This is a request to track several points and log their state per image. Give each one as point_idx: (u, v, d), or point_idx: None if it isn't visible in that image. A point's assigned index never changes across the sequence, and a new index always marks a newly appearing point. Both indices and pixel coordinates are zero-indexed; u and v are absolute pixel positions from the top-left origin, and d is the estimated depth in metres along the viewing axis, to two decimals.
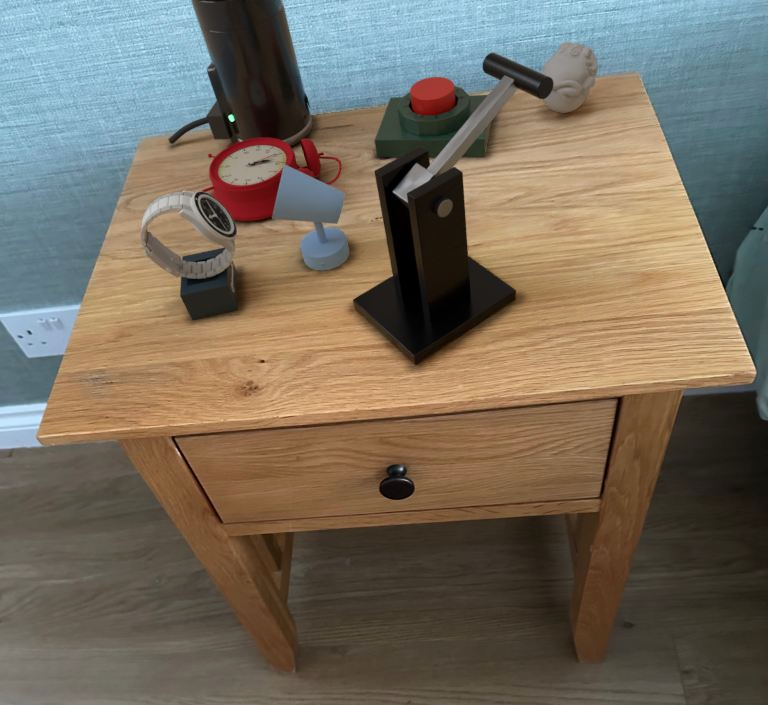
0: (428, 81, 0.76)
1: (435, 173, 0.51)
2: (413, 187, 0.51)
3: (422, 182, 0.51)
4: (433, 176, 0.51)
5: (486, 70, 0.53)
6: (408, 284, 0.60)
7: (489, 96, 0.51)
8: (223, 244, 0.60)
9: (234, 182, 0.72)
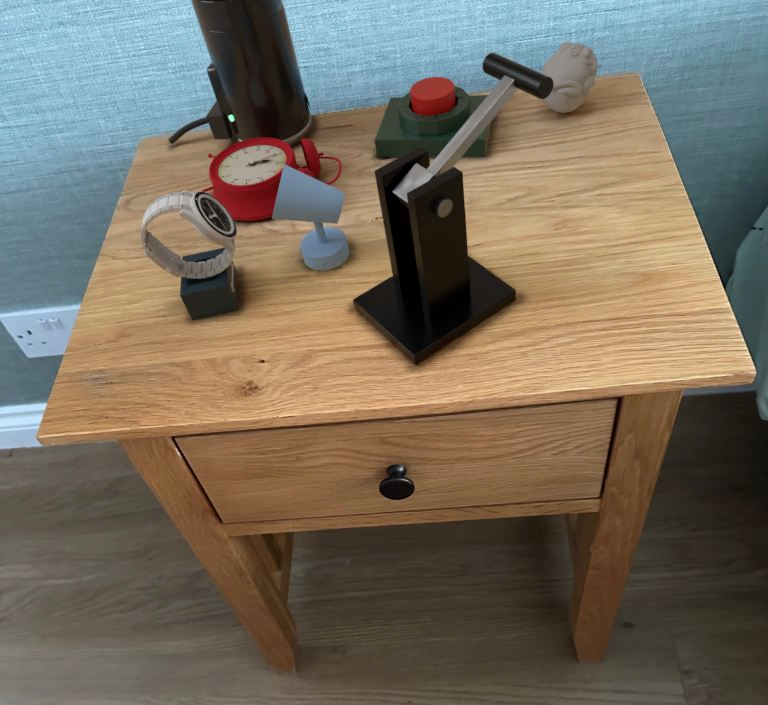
0: (428, 81, 0.76)
1: (435, 173, 0.51)
2: (413, 187, 0.51)
3: (422, 182, 0.51)
4: (433, 176, 0.51)
5: (486, 70, 0.53)
6: (408, 284, 0.60)
7: (489, 96, 0.51)
8: (223, 244, 0.60)
9: (234, 182, 0.72)
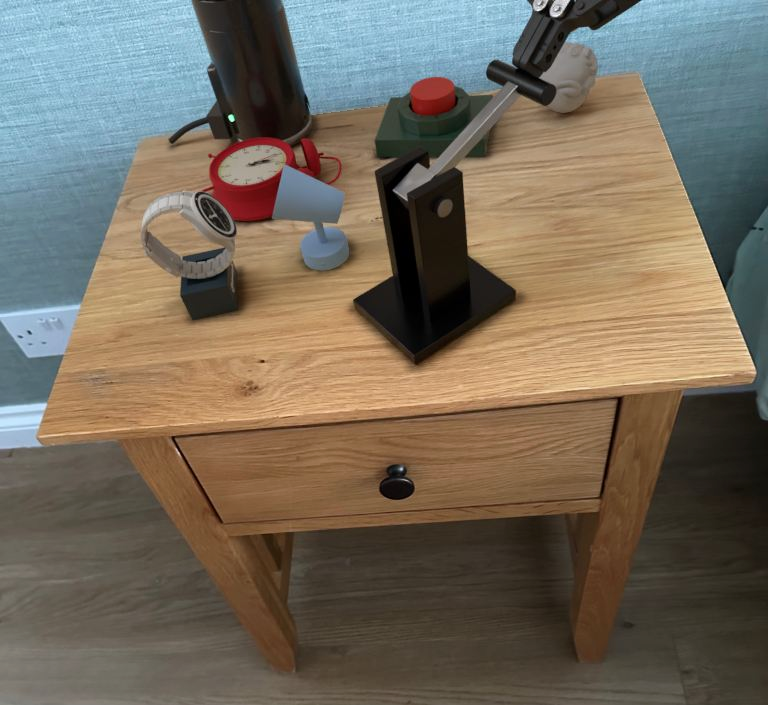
0: (428, 81, 0.76)
1: (436, 174, 0.51)
2: (414, 186, 0.51)
3: (423, 181, 0.51)
4: (434, 176, 0.51)
5: (490, 76, 0.53)
6: (408, 284, 0.60)
7: (492, 101, 0.52)
8: (223, 244, 0.60)
9: (234, 182, 0.72)
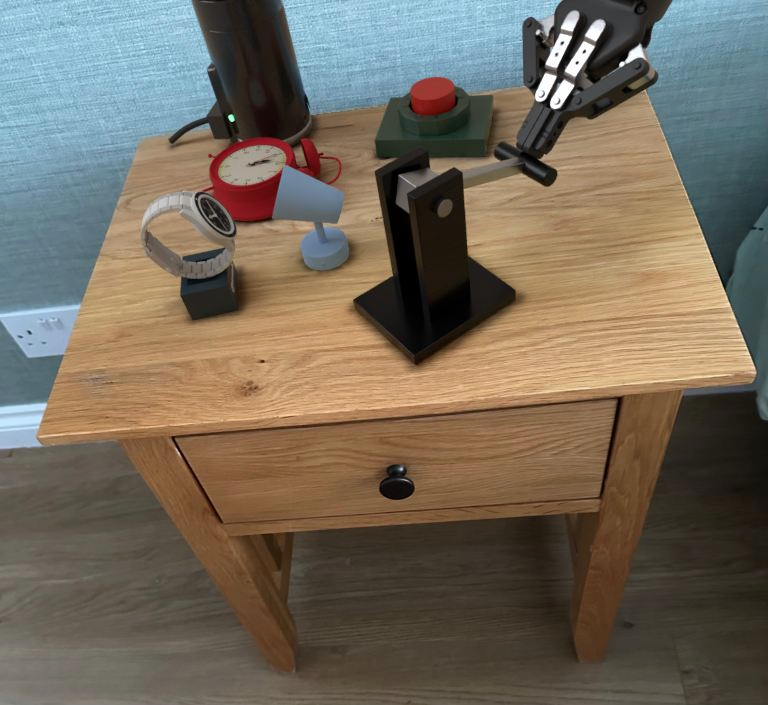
0: (428, 81, 0.76)
1: None
2: (422, 179, 0.51)
3: None
4: None
5: (498, 150, 0.58)
6: (408, 284, 0.60)
7: (501, 162, 0.56)
8: (223, 244, 0.60)
9: (234, 182, 0.72)
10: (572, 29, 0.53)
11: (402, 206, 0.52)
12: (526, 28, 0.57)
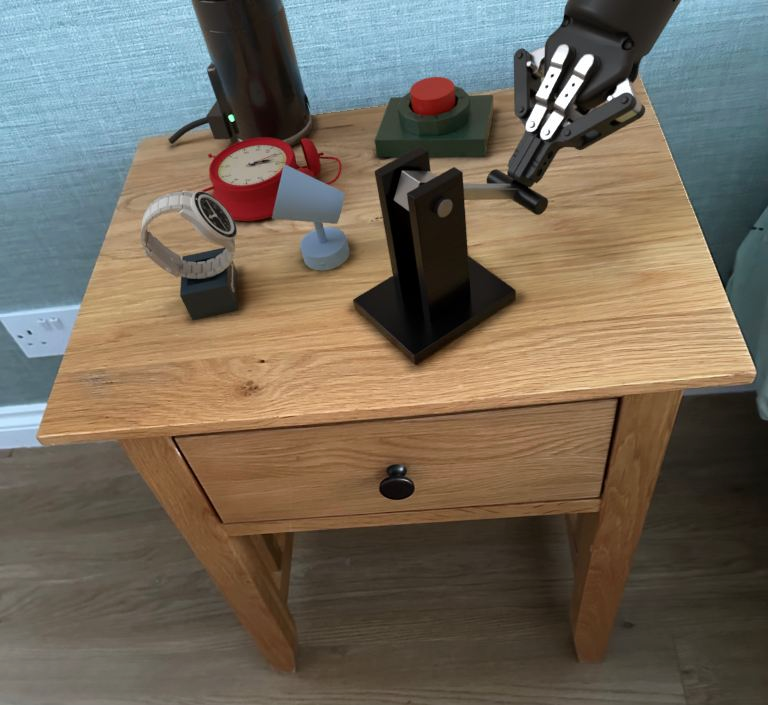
0: (428, 81, 0.76)
1: None
2: (425, 178, 0.51)
3: None
4: None
5: (492, 176, 0.60)
6: (408, 284, 0.60)
7: (495, 184, 0.57)
8: (223, 244, 0.60)
9: (234, 182, 0.72)
10: (562, 62, 0.54)
11: (400, 203, 0.52)
12: (517, 59, 0.58)
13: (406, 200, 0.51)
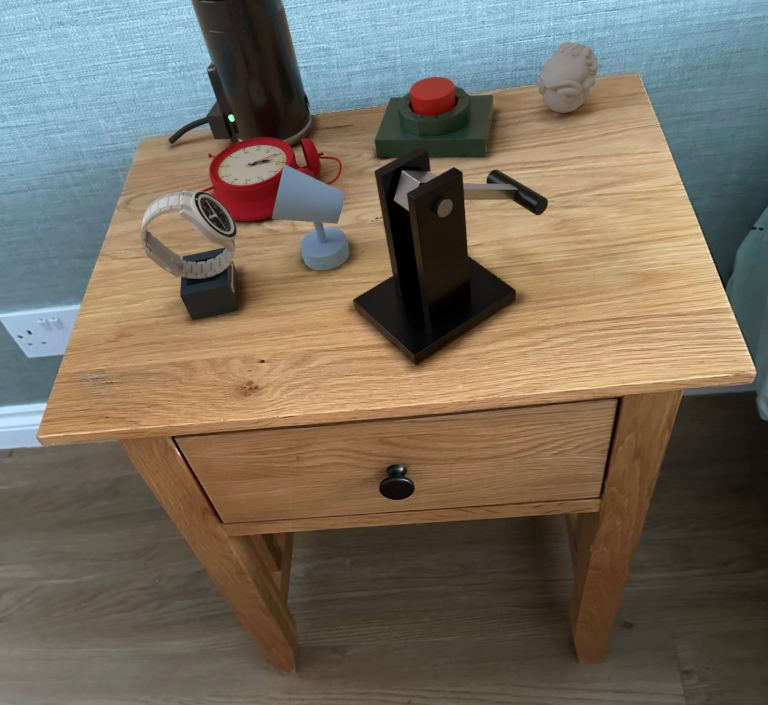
0: (428, 81, 0.76)
1: None
2: (425, 178, 0.51)
3: None
4: None
5: (492, 176, 0.60)
6: (408, 284, 0.60)
7: (495, 184, 0.57)
8: (223, 244, 0.60)
9: (234, 182, 0.72)
10: None
11: (400, 202, 0.52)
12: None
13: (406, 200, 0.51)
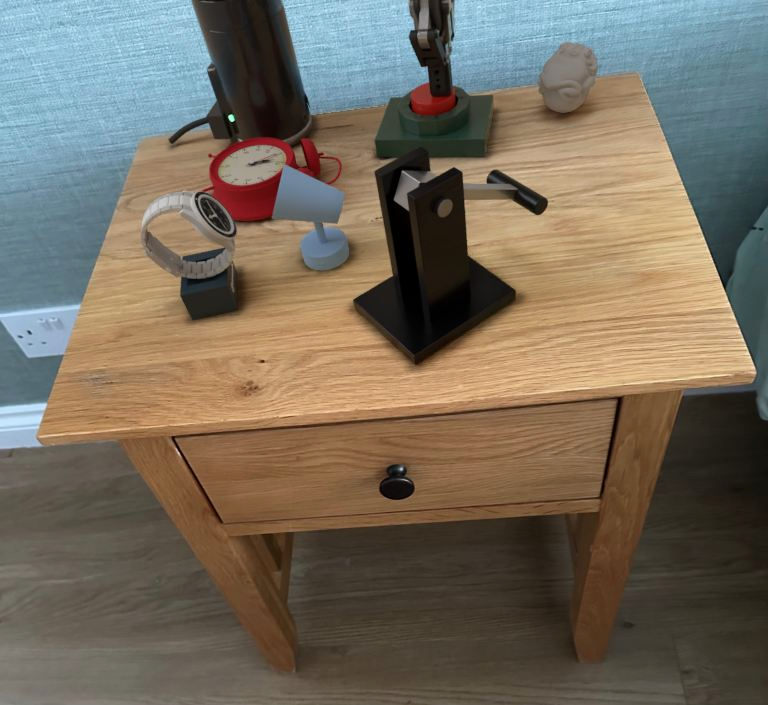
0: (429, 86, 0.76)
1: None
2: (425, 178, 0.51)
3: None
4: None
5: (492, 176, 0.60)
6: (408, 284, 0.60)
7: (495, 184, 0.57)
8: (223, 244, 0.60)
9: (234, 182, 0.72)
10: None
11: (400, 202, 0.52)
12: None
13: (406, 200, 0.51)
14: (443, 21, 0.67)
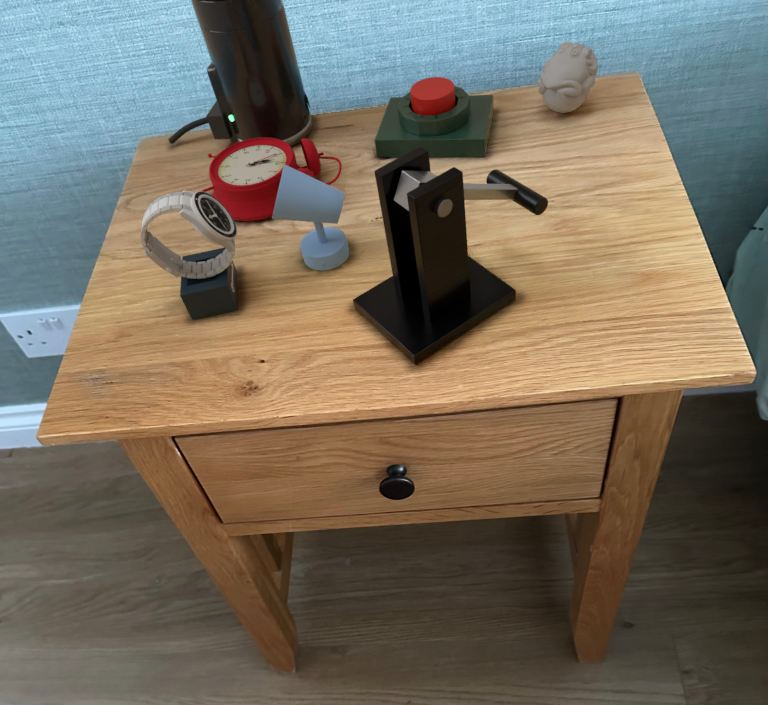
0: (428, 82, 0.76)
1: None
2: (425, 178, 0.51)
3: None
4: None
5: (492, 176, 0.60)
6: (408, 284, 0.60)
7: (495, 184, 0.57)
8: (223, 244, 0.60)
9: (234, 182, 0.72)
10: None
11: (400, 202, 0.52)
12: None
13: (406, 200, 0.51)
14: None
